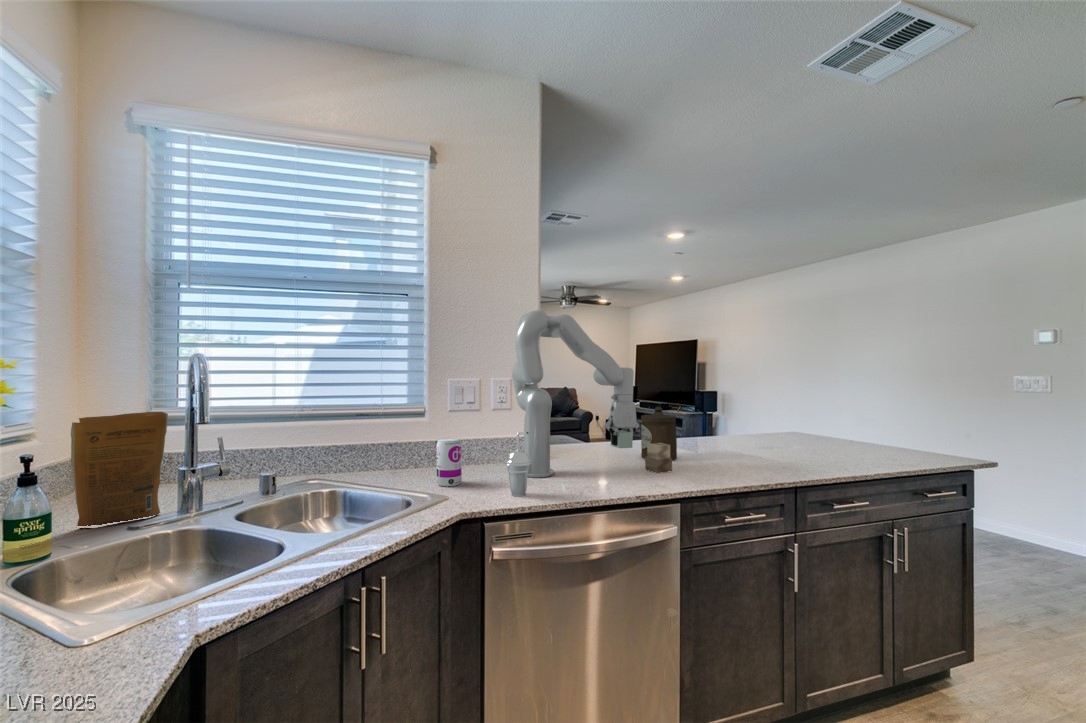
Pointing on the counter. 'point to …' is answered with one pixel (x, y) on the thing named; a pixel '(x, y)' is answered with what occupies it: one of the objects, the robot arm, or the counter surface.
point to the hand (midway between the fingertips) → (621, 444)
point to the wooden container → (659, 431)
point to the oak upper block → (658, 451)
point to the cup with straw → (518, 470)
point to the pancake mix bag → (117, 466)
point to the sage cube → (624, 439)
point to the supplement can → (449, 462)
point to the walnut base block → (658, 464)
